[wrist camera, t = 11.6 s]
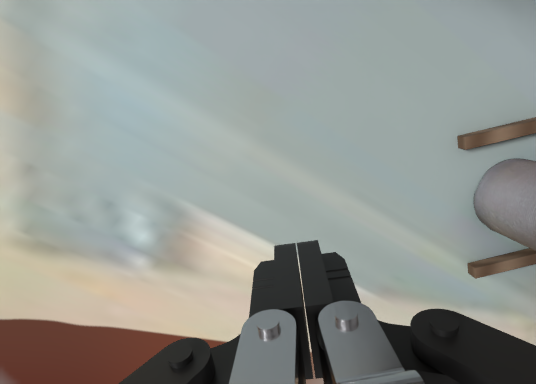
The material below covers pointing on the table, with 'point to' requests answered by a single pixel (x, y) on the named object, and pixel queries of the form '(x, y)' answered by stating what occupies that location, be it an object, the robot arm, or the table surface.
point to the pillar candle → (509, 200)
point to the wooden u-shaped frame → (485, 138)
